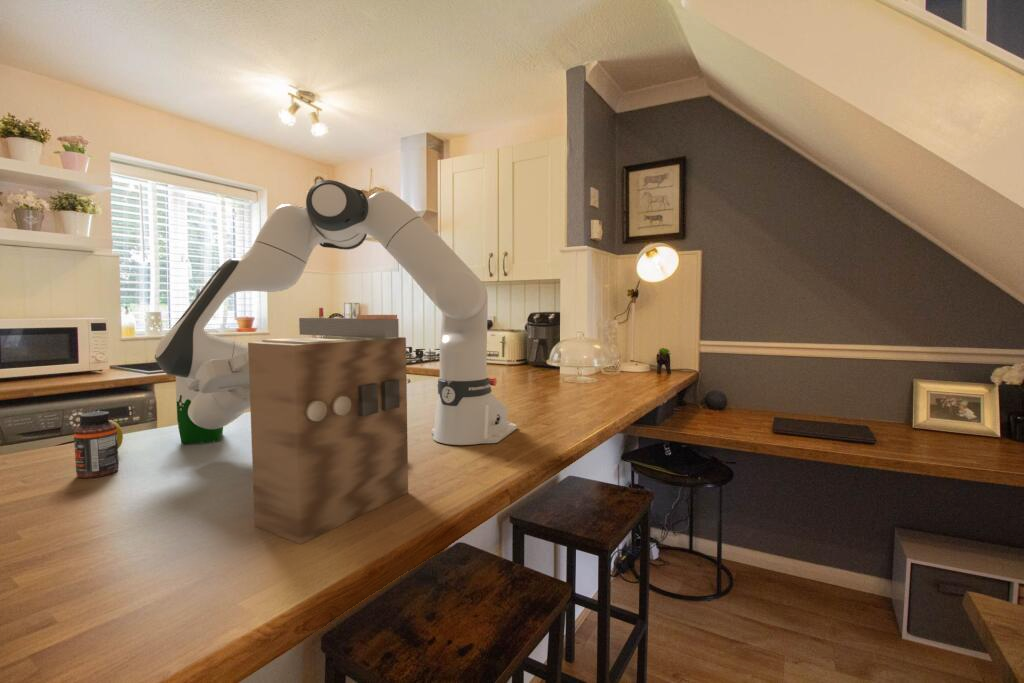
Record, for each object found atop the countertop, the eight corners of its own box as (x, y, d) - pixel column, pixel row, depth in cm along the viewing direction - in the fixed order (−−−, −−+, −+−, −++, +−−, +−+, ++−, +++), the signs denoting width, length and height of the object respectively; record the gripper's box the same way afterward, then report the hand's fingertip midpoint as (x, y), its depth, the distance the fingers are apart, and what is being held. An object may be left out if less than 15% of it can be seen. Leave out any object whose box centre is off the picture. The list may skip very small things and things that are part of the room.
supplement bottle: (70, 475, 86) (66, 414, 85) (110, 466, 91) (106, 408, 90) (85, 481, 83) (81, 418, 82) (125, 471, 88) (122, 411, 87)
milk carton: (222, 441, 108) (218, 355, 107) (174, 446, 104) (170, 356, 103) (227, 432, 116) (224, 352, 114) (183, 437, 112) (179, 353, 111)
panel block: (365, 481, 83) (362, 334, 81) (412, 493, 77) (410, 335, 76) (254, 526, 66) (247, 340, 64) (305, 546, 60) (299, 343, 58)
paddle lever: (317, 333, 83) (317, 314, 83) (402, 336, 73) (402, 314, 72) (295, 334, 79) (294, 314, 79) (381, 338, 69) (380, 315, 69)
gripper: (178, 375, 83) (214, 338, 76) (285, 364, 100) (321, 334, 94) (188, 407, 82) (225, 373, 75) (294, 391, 99) (332, 362, 93)
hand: (279, 351), depth 85 cm, fingers open, 8 cm apart
